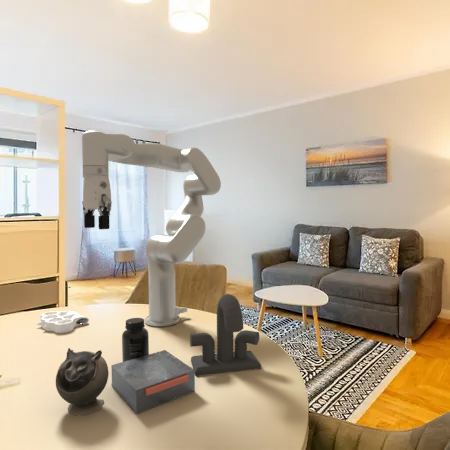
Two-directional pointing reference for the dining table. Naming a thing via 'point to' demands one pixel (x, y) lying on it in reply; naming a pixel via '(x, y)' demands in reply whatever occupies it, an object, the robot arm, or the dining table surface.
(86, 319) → the white flat holed piece
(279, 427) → the dining table surface
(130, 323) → the supplement bottle
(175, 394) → the stand
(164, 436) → the dining table surface
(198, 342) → the faucet
